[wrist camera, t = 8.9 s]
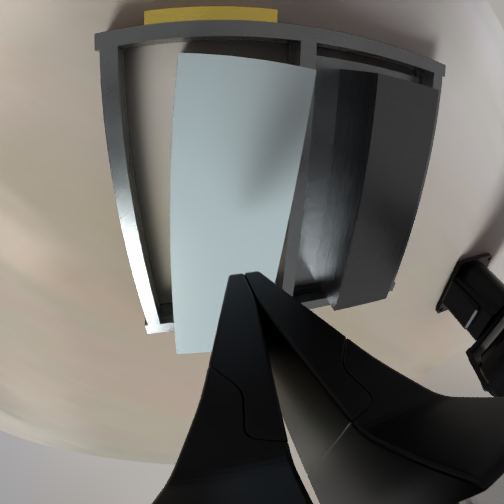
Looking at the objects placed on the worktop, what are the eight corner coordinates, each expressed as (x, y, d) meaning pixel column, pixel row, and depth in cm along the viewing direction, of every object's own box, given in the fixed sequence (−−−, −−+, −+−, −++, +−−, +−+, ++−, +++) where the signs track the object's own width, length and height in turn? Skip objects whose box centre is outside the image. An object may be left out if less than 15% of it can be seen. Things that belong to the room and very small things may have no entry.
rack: (426, 52, 12) (473, 60, 9) (381, 276, 21) (407, 309, 18) (103, 25, 8) (79, 11, 6) (147, 314, 17) (148, 361, 15)
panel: (268, 68, 12) (316, 69, 8) (238, 282, 18) (260, 346, 14) (177, 60, 10) (178, 52, 6) (171, 285, 17) (176, 354, 13)
